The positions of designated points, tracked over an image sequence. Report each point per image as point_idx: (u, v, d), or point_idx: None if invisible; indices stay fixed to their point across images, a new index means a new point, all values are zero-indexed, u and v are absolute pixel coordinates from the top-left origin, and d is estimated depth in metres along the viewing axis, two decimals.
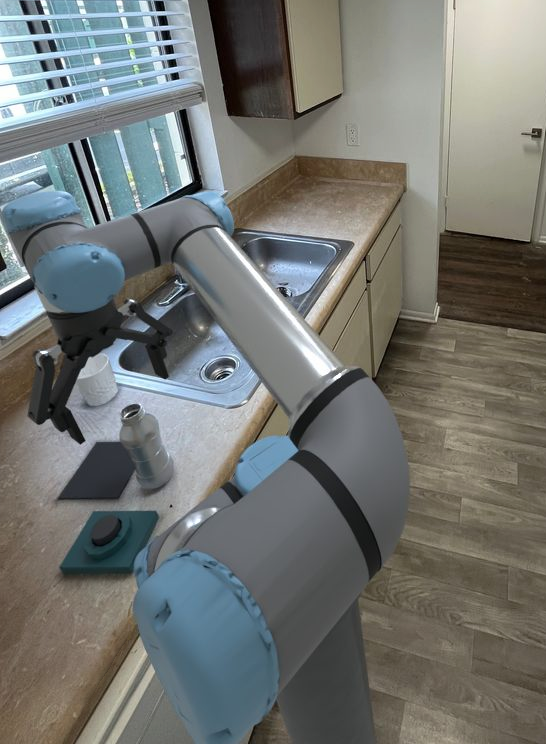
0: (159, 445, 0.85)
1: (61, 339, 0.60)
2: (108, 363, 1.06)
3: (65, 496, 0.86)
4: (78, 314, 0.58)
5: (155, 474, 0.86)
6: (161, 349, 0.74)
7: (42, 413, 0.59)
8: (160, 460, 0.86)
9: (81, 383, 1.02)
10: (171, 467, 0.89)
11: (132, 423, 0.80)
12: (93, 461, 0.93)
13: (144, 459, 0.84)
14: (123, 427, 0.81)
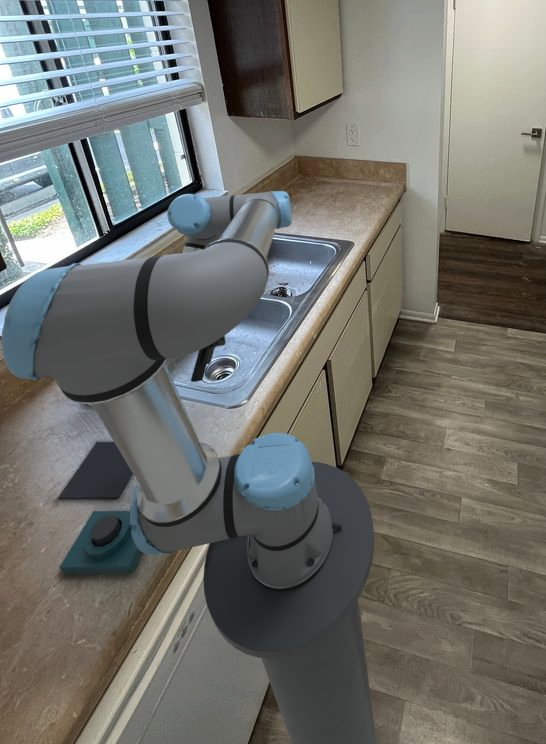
0: None
1: None
2: None
3: (65, 496, 0.86)
4: None
5: None
6: (206, 353, 0.87)
7: None
8: None
9: None
10: None
11: None
12: (93, 461, 0.93)
13: None
14: None
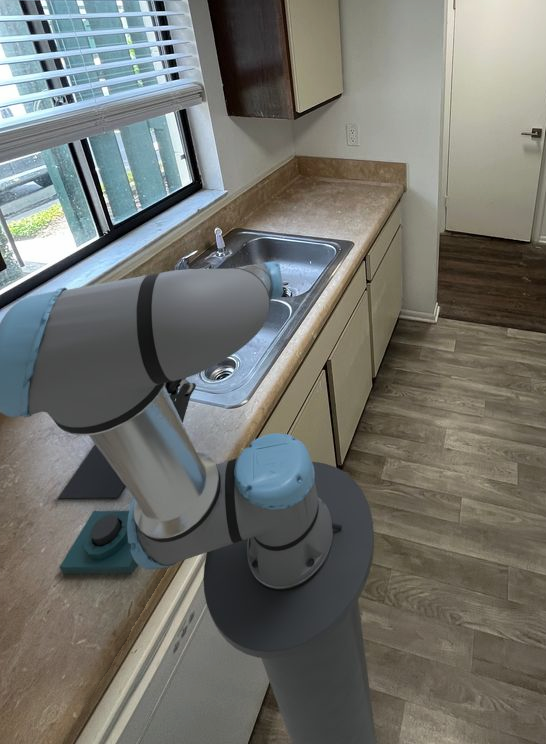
0: None
1: None
2: None
3: (65, 496, 0.86)
4: None
5: None
6: None
7: None
8: None
9: None
10: None
11: None
12: (93, 461, 0.93)
13: None
14: None
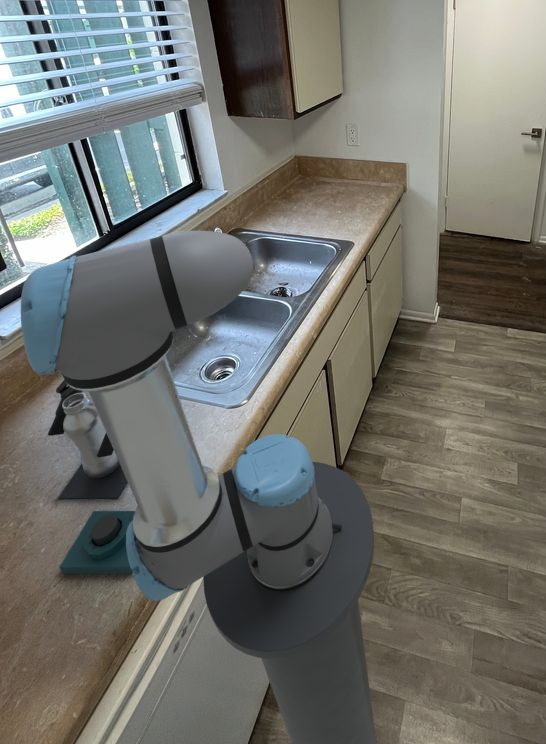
0: (104, 434, 0.87)
1: None
2: None
3: (65, 496, 0.86)
4: None
5: (101, 463, 0.88)
6: None
7: (61, 385, 0.89)
8: None
9: None
10: None
11: (75, 412, 0.82)
12: None
13: (88, 448, 0.85)
14: (66, 416, 0.83)
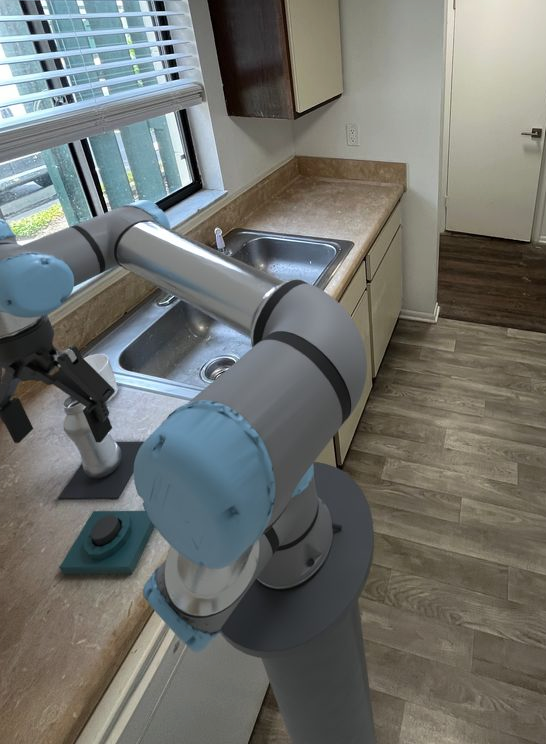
0: None
1: None
2: (108, 363, 1.06)
3: (65, 496, 0.86)
4: None
5: (101, 463, 0.88)
6: (96, 412, 0.67)
7: None
8: (106, 450, 0.88)
9: None
10: (118, 456, 0.91)
11: (75, 412, 0.82)
12: None
13: (88, 448, 0.85)
14: (67, 416, 0.83)
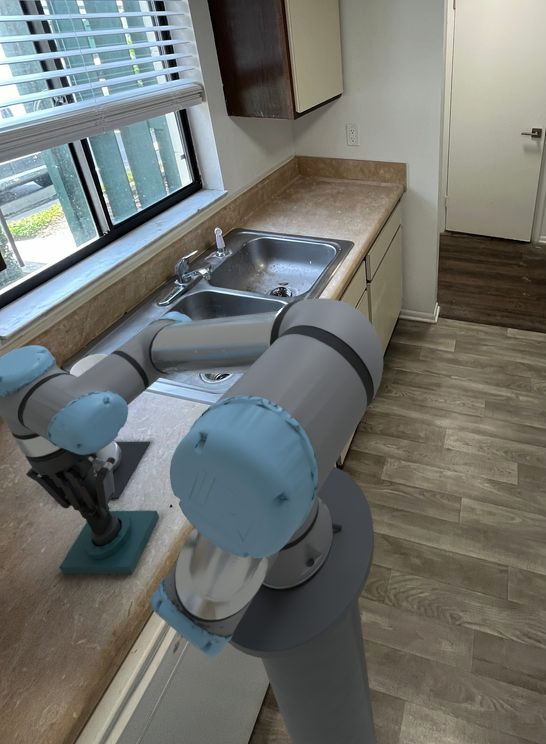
0: None
1: None
2: None
3: None
4: (28, 457, 0.64)
5: None
6: (98, 511, 0.74)
7: (61, 502, 0.72)
8: (106, 450, 0.88)
9: None
10: (118, 456, 0.91)
11: None
12: None
13: None
14: None
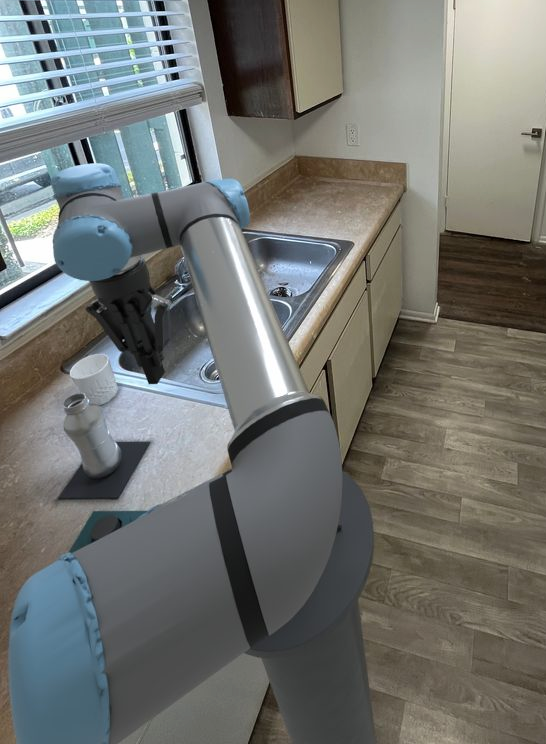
0: (105, 434, 0.87)
1: None
2: (108, 363, 1.06)
3: (65, 496, 0.86)
4: None
5: (101, 463, 0.88)
6: (154, 357, 0.73)
7: (118, 345, 0.71)
8: (106, 450, 0.88)
9: (81, 383, 1.02)
10: (118, 456, 0.91)
11: (75, 412, 0.82)
12: None
13: (88, 448, 0.85)
14: (67, 416, 0.83)
